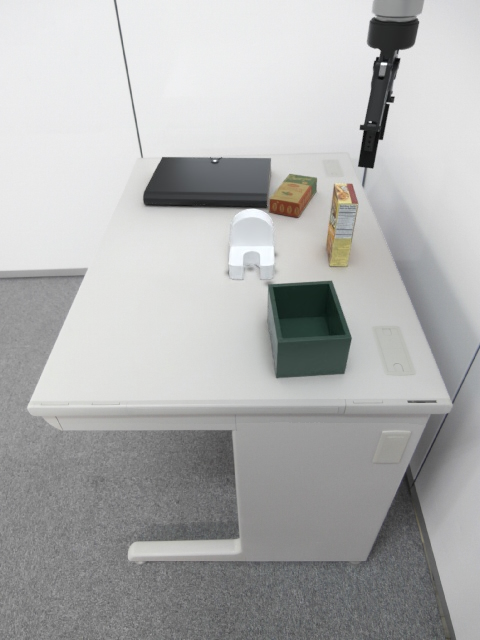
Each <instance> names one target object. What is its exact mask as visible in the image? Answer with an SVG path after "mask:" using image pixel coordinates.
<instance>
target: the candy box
mask: <svg viewBox="0 0 480 640" xmlns="http://www.w3.org/2000/svg"><path fill="white" fill-rule="evenodd" d="M358 209H359V200H358V198H357V195H356V191H355V188H354V184H353V183H349V182H348V183H347V182H346V183H345V182H344V183H343V182H341V183H339V182H338V183H337V182H335V183H334V184H333V189H332V196H331V205H330V211H329V219H328V227H327V235H326V242H325V247H326V252H327V258H328V265H329V267H348V264H349V258H350V253H351V247H352V243H353V237H354V231H355V225H356V221H357V215H358Z"/></svg>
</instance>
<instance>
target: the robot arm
mask: <svg viewBox="0 0 480 640" xmlns="http://www.w3.org/2000/svg"><path fill="white" fill-rule="evenodd" d="M424 4H425V0H373V1H372V5H371V14H372V15H373V17H371V19H369V23H368V30H367V36H366V37H367V38H366V45H367V46H368V47H369V48H371V49H374V50H376V49H378V50H379V51H380V52H379V53H380V54H379V56H376V57H375V60H373V65H372V77H371V81H370V92H369V98H368V102H367V107H366V111H365V117H364V123H363V124H360V125H359V131H363V132H362V138H361V144H360V151H359V157H358V164H357V168H364V169H374V168H375V162H376V157H377V152H378V146H379V142H380V141H383V140H384V136H385V131H386V127H387V121H388V117H389V116H388V115H389V111H390V105H391V104H395V103H394V102H395V98H396V97H395V96H393V94H394V91H393V89H394V82H395V80H396V78H397V75H398V70H399V68H400V65H401V57H399V53H400V51H405V50H409V49H411V48H413V47H414V46H415V44H416V40H417V36H418V31H419V26H420V21H419V18H418V17H419V16H420V15H422V13H423V9H424Z"/></svg>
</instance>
